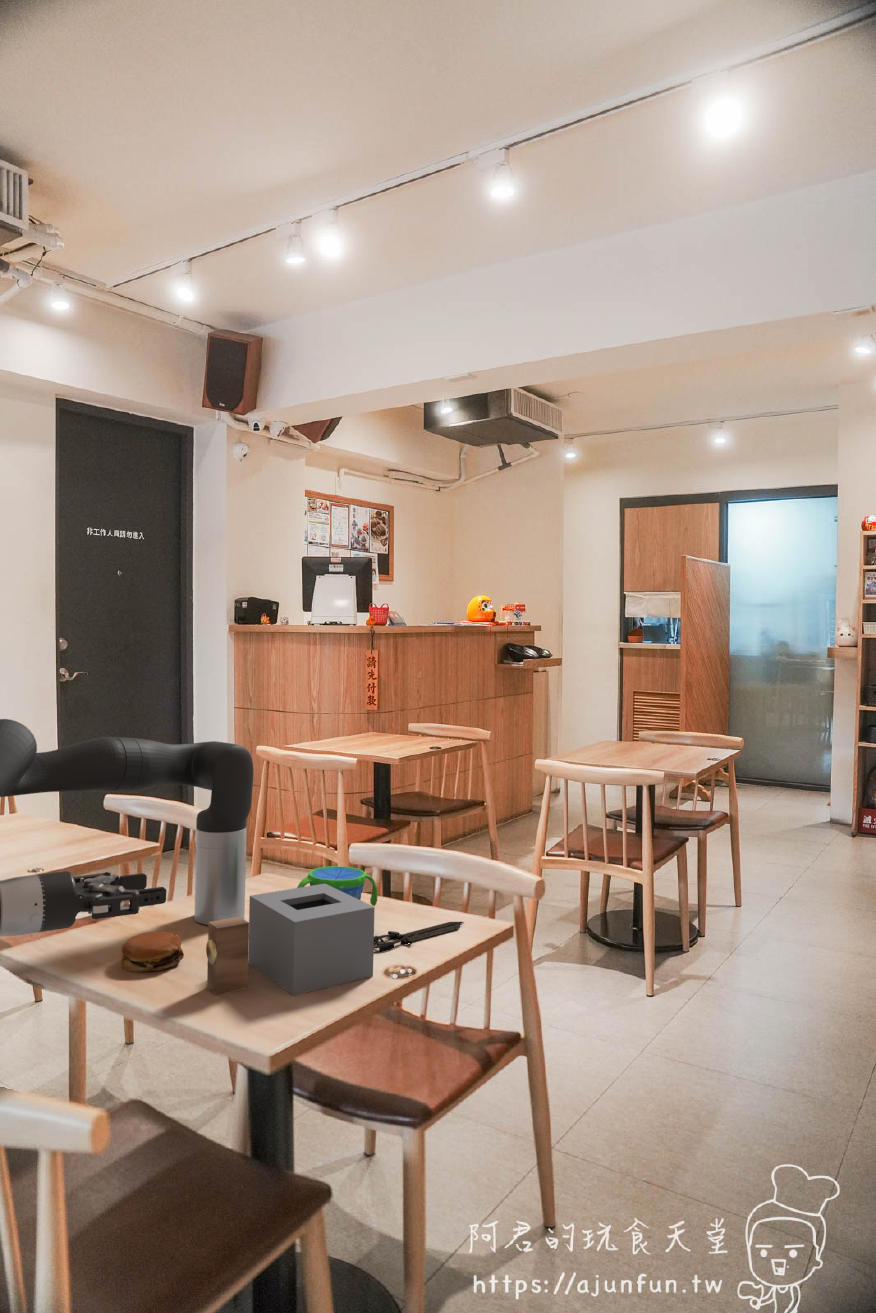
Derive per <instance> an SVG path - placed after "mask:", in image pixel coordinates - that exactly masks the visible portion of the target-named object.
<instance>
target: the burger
mask: <svg viewBox="0 0 876 1313" xmlns="http://www.w3.org/2000/svg"><path fill="white" fill-rule="evenodd" d="M181 944H182V941H181V937H180V935H178V934H177V933H173V932H168V931H167V932H166V931H150V932H145V933H144V932H143V933H139V934H136V935H134V936H132V937H130V938H128V939H126V941H125V942H123V944H122V946H121V956H120V965H121V967H122V968H123V970H125V971H126V970H128V972H132V971H140V972H143V971H144V972H150V971H151V972H156V971H157V972H159V971H162V970H165V969H168V968H171V967H174V966H176V965H178V964H180V961H181V960H183V959H184V956H185V954H184V951H183V949H182V947H181ZM158 970H159V971H158Z"/></svg>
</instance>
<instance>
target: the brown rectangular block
mask: <svg viewBox="0 0 876 1313" xmlns="http://www.w3.org/2000/svg"><path fill="white" fill-rule="evenodd" d="M207 926H208V927H207V928H208V929H207V930H208V932H207V934H208V935H207V942H206V947H205V948H206V949H205V950H206V951H205V953H206V958H207V971H206V972H207V974H206V977H207V978H206V979H207V981H206V988H207V989H208V990H209V991H211V992H212V993H213V994H214V995H215V996H219V995H223V994H228V993H232V992H238V991H241V990H246V989H248V983H249V963H248V952H249V921H247V920H246V919H245V918H244V919H242V918H241V917H235V918H229V919H223V920H217V921H212V922H208V925H207Z"/></svg>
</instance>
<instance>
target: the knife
mask: <svg viewBox="0 0 876 1313" xmlns="http://www.w3.org/2000/svg"><path fill="white" fill-rule="evenodd" d="M464 923H465V922H464V921H448V922H444V923H439V924H436V925H433V926H429V927H425V928H421V929H418V930H414V931H409V932H406V933H401V932H398V931H394V930H393V931H391V930H389V931H387V934H382V935H374V950H376V949H378V950H379V951H378V952H379V953H380V952H381V953H384V952H387V950H388V951H391V950H390V949H392V948H394V949H395V945H396V944H399V943H400V945H402V944H403V945H404V944H408V943H410V944H409V945H412V944H413V942H415V941H419V940H423V939H426V938H429V937H433V936H436V935H437V934H438V935H441V934H444V933H448V932H451V931H455V929H456V930H458V929H459V927H460V926H461V925H462V924H464ZM384 938H389V940H390V939H394V940H392V941H385V940H384ZM422 938H423V939H422ZM397 939H398V940H397ZM380 941H381V942H382V943H380ZM392 950H393V949H392Z"/></svg>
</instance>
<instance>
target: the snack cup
mask: <svg viewBox="0 0 876 1313" xmlns="http://www.w3.org/2000/svg"><path fill="white" fill-rule="evenodd" d="M366 879H367V880H369V881H370V882H371V885H372V886H371V887H372V889H371V893H370V894H371V896H370V900H369V903H370V905H371V906H373V907H376V905H377V902H378V897H379V896H378V895H379V894H378V887H377V886H378V885H377V884H376V881H375V880H374V878H373V877H372V876H371V875H369V874H367V873H366V872H365V871H364V870H362V869H360V868H356V867H352V866H342V865H340V866H338V865H336V866H335V865H332V866H331V865H330V866H322V867H317V868H314V869H312V870H310V871H309V872H308V875H307V876H306V877H304V878H303V879H301V881H300V882H299V883H298V885H297V887H296V888H300V887H306V886H307V885H308V884H309V886H313V885H319V884H327V885H329V886H331V887H333V888H335V889H338V890H340V891H342V892H344V893H346V894H348V895H350V896H352V897H354V898H356V899H358V900H361V899H362V893H363V889H364V885H365V882H366Z"/></svg>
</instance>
